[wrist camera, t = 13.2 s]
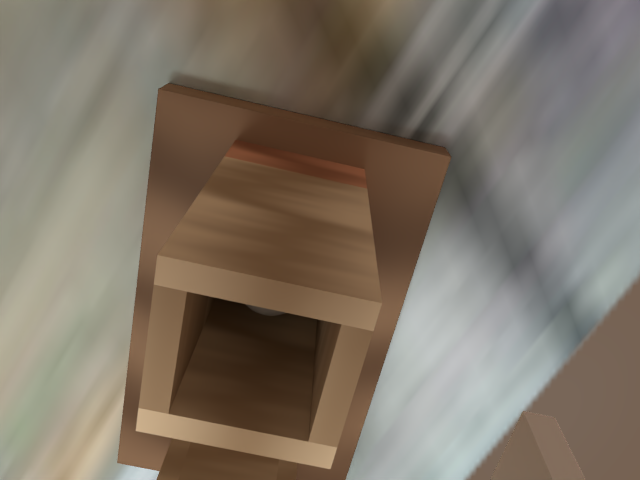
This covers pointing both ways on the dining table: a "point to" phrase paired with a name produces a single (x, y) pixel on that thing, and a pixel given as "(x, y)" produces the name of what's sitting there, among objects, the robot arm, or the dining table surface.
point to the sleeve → (267, 292)
